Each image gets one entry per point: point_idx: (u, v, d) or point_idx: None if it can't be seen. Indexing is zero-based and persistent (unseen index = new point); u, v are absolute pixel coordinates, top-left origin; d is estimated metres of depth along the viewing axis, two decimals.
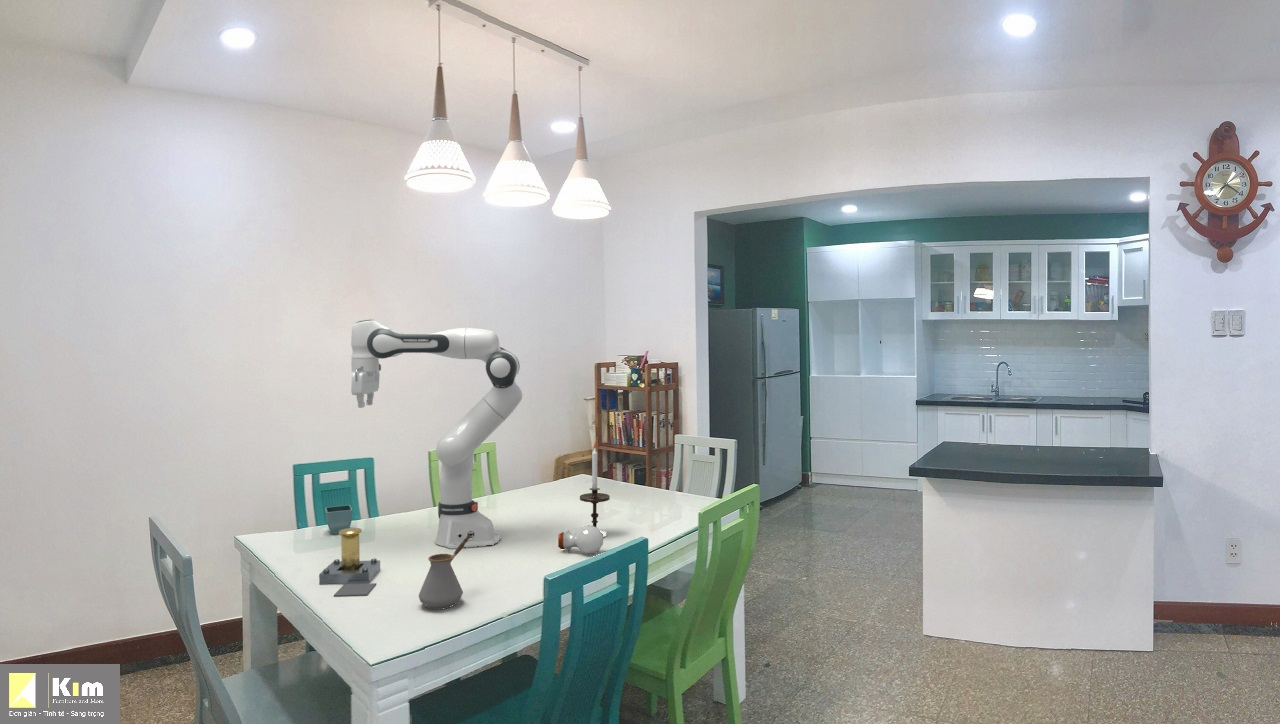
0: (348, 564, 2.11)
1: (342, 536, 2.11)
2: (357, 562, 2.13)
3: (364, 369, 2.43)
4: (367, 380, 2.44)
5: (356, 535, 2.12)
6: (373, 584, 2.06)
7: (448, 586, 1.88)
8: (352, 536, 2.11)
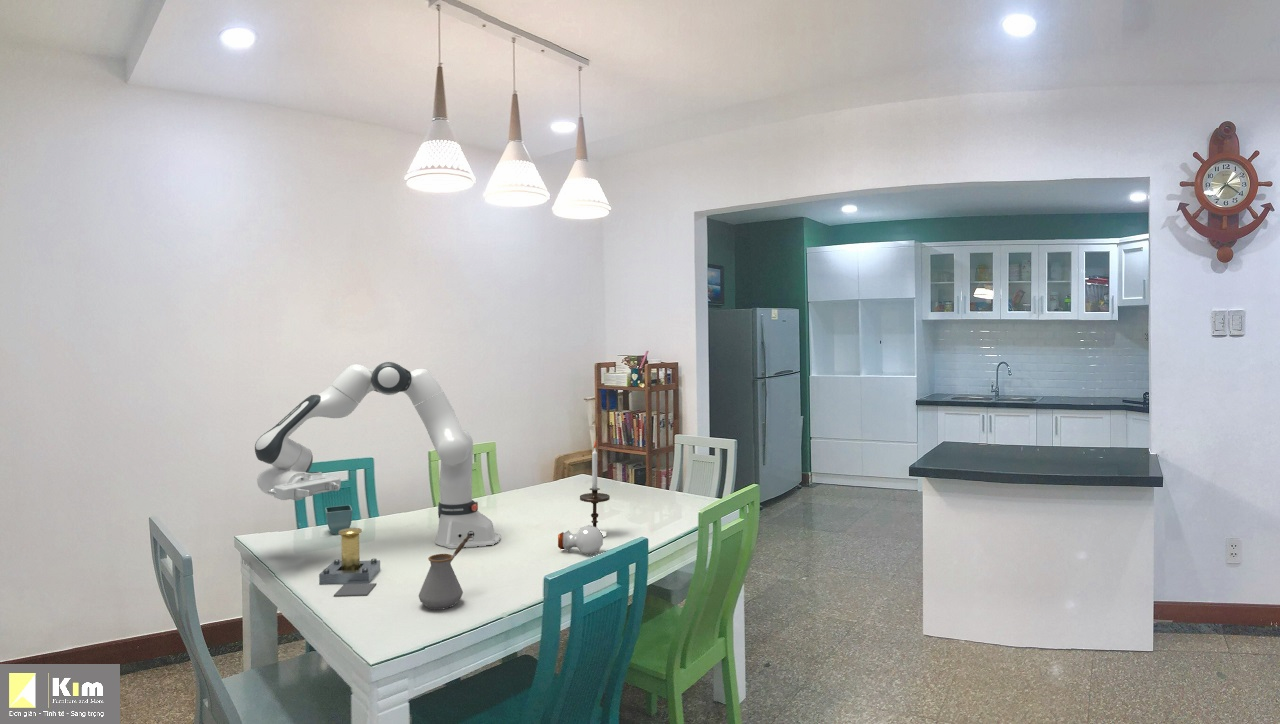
0: (348, 564, 2.11)
1: (342, 536, 2.11)
2: (357, 562, 2.13)
3: None
4: (295, 484, 2.21)
5: (356, 535, 2.12)
6: (373, 584, 2.06)
7: (448, 586, 1.88)
8: (352, 536, 2.11)
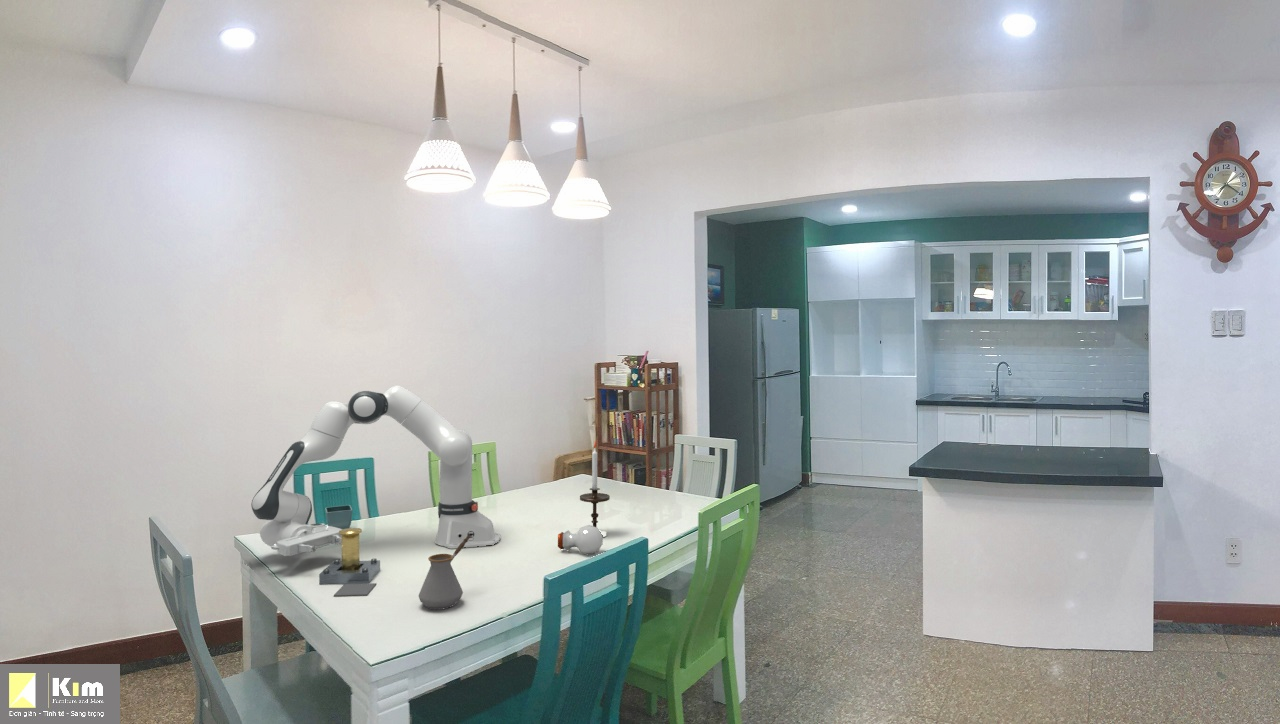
0: (348, 564, 2.11)
1: (342, 536, 2.11)
2: (357, 562, 2.13)
3: None
4: (298, 538, 2.21)
5: (356, 535, 2.12)
6: (373, 584, 2.06)
7: (448, 586, 1.88)
8: (352, 536, 2.11)
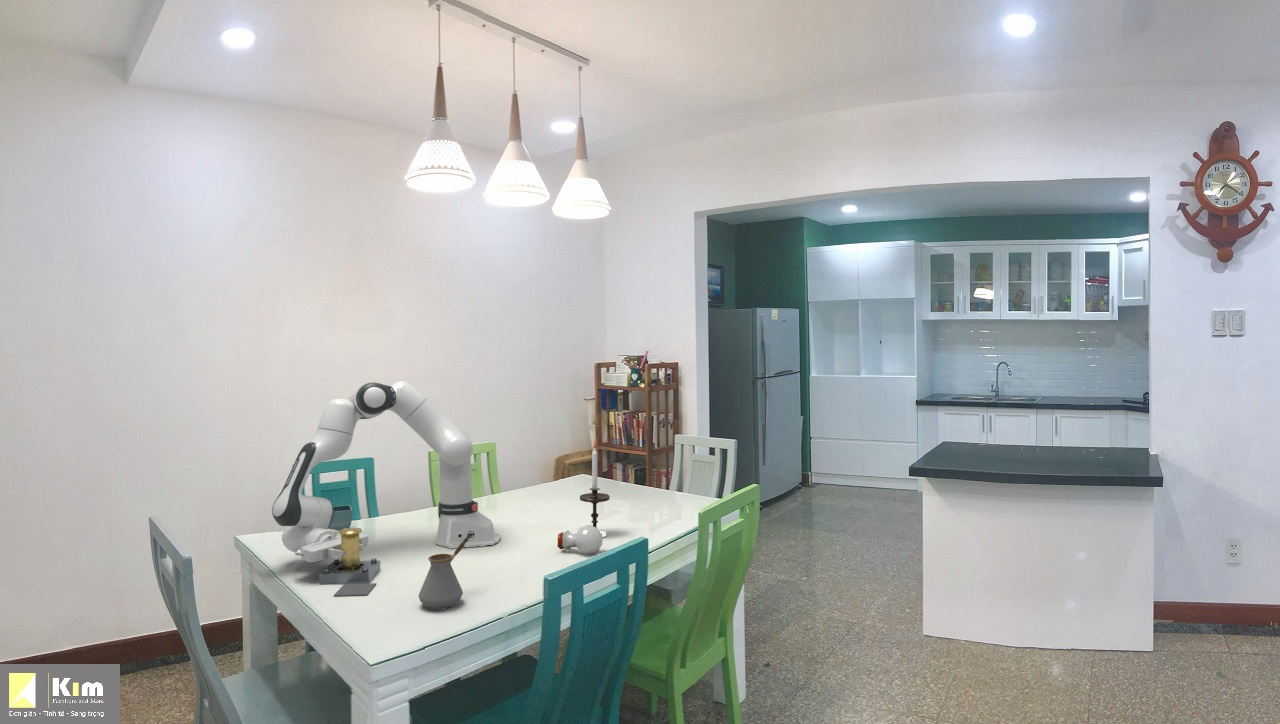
0: (348, 564, 2.11)
1: (342, 536, 2.11)
2: (357, 562, 2.13)
3: None
4: (322, 543, 2.15)
5: (356, 535, 2.12)
6: (373, 584, 2.06)
7: (448, 586, 1.88)
8: (352, 536, 2.11)
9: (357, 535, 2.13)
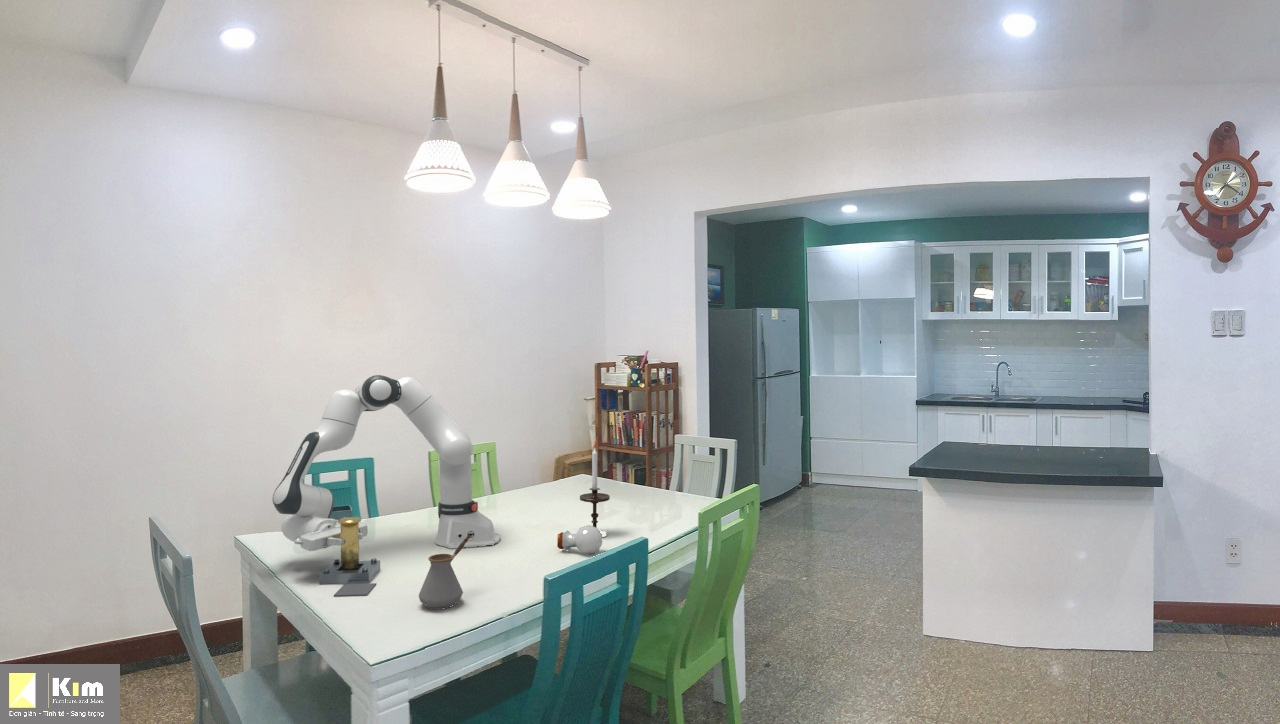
0: (347, 553, 2.11)
1: (341, 525, 2.11)
2: (356, 551, 2.13)
3: None
4: (322, 532, 2.15)
5: (355, 524, 2.12)
6: (373, 584, 2.06)
7: (448, 586, 1.88)
8: (351, 525, 2.11)
9: (356, 524, 2.13)
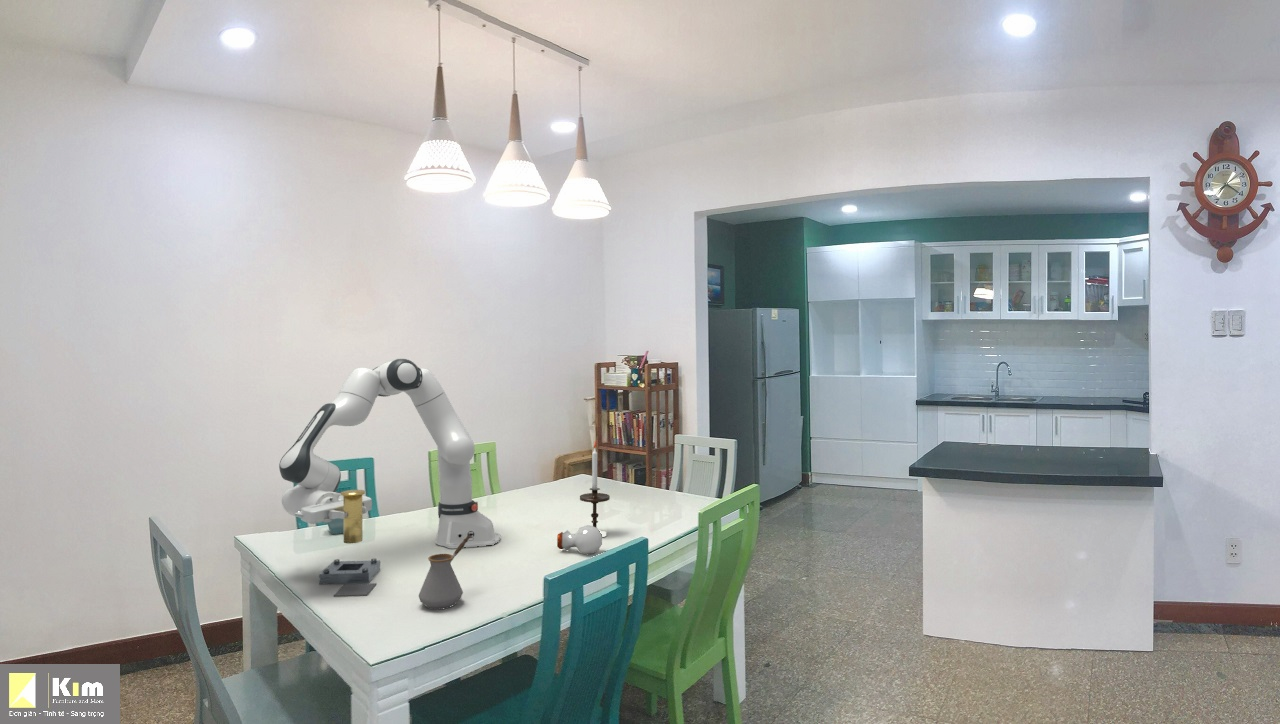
0: (350, 527, 2.00)
1: (344, 497, 2.00)
2: (360, 525, 2.01)
3: None
4: (324, 505, 2.03)
5: (359, 496, 2.01)
6: (373, 584, 2.06)
7: (448, 586, 1.88)
8: (355, 498, 2.00)
9: (360, 497, 2.01)
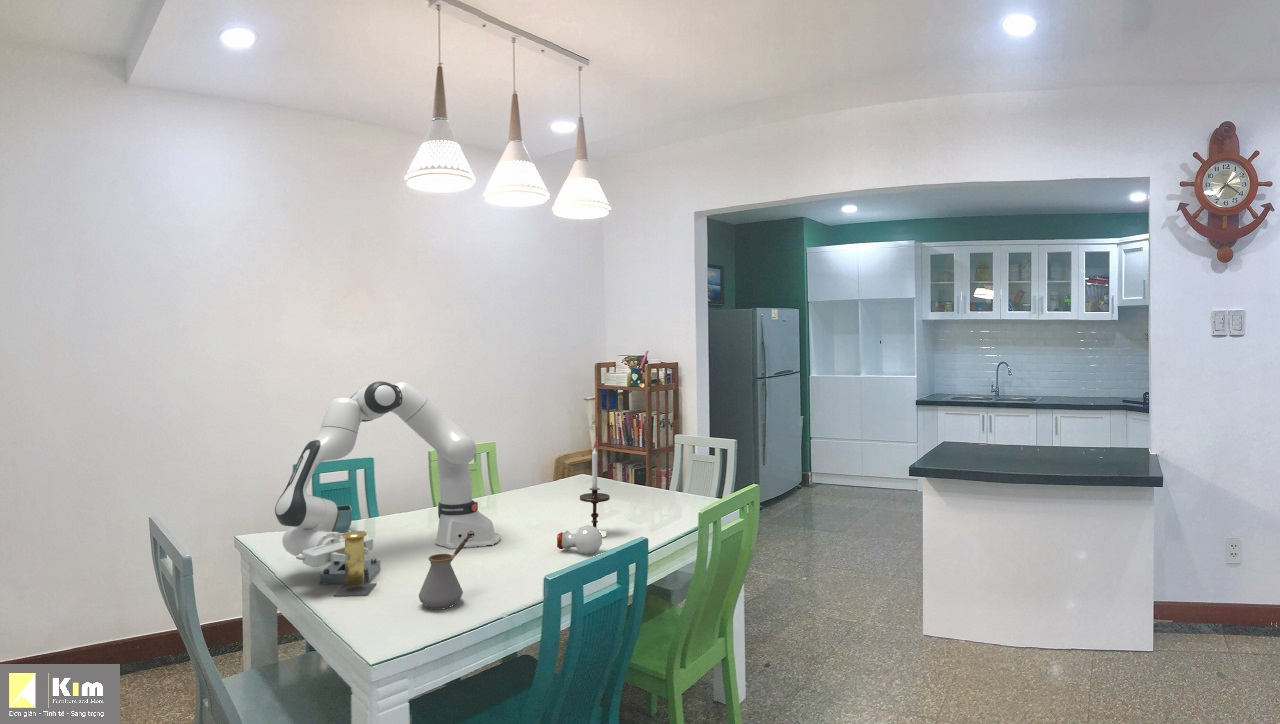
0: (352, 569, 1.99)
1: (346, 540, 2.00)
2: (361, 567, 2.01)
3: None
4: (325, 547, 2.03)
5: (360, 539, 2.01)
6: (373, 584, 2.06)
7: (448, 586, 1.88)
8: (356, 540, 2.00)
9: (362, 539, 2.01)
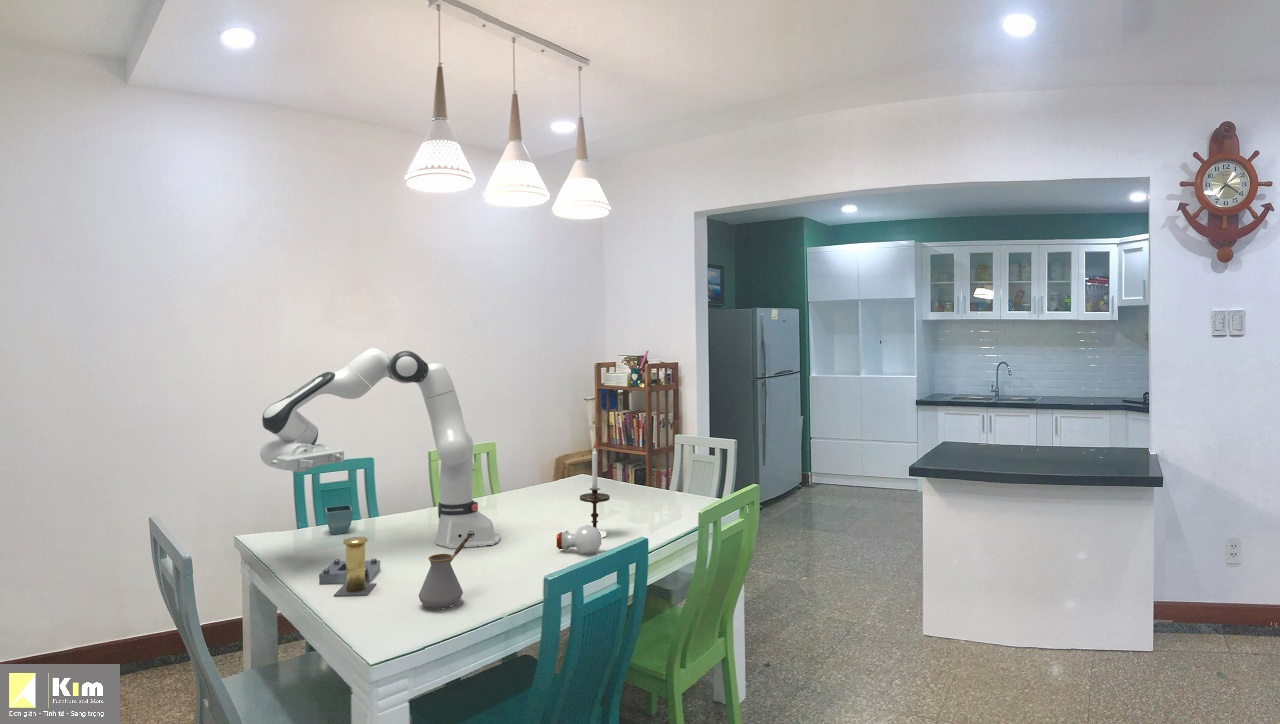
0: (353, 575, 2.00)
1: (347, 545, 2.00)
2: (362, 573, 2.01)
3: None
4: (298, 455, 2.19)
5: (361, 545, 2.01)
6: (373, 584, 2.06)
7: (448, 586, 1.88)
8: (357, 546, 2.00)
9: (363, 545, 2.01)
